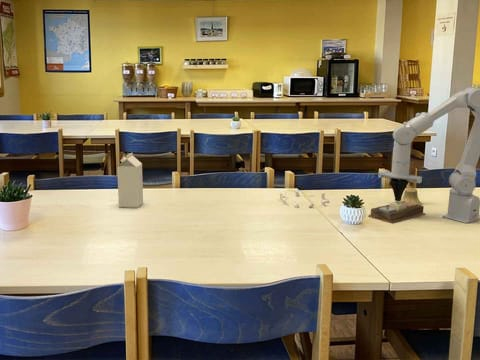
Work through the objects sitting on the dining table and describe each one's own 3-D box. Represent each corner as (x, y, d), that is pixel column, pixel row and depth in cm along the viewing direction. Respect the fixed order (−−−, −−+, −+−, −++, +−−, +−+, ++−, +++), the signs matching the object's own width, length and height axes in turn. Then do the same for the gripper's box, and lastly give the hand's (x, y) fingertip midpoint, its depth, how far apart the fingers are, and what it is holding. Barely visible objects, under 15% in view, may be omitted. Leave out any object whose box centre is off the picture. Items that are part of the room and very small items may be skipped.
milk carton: (143, 203, 204) (141, 152, 200) (137, 208, 197) (136, 156, 193) (124, 202, 204) (122, 152, 200) (118, 207, 197) (116, 155, 193)
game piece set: (278, 195, 219) (278, 186, 218) (329, 197, 217) (329, 187, 216) (276, 208, 200) (276, 198, 199) (332, 210, 198) (332, 199, 197)
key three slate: (395, 216, 186) (396, 208, 185) (387, 218, 184) (388, 210, 183) (386, 213, 189) (386, 206, 189) (378, 215, 187) (378, 208, 186)
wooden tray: (425, 214, 191) (425, 206, 191) (392, 223, 181) (392, 214, 180) (401, 208, 199) (402, 200, 198) (368, 216, 188) (369, 208, 188)
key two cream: (405, 210, 189) (406, 203, 188) (398, 212, 187) (399, 205, 186) (396, 208, 192) (396, 200, 192) (389, 209, 190) (389, 202, 189)
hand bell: (416, 207, 201) (420, 164, 198) (395, 203, 206) (398, 162, 202) (424, 203, 207) (428, 161, 204) (403, 199, 212) (406, 159, 209)
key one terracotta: (415, 211, 192) (416, 204, 192) (408, 213, 190) (408, 205, 190) (406, 208, 196) (406, 201, 195) (398, 210, 193) (399, 203, 193)
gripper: (426, 162, 185) (422, 201, 188) (385, 157, 193) (382, 195, 196) (419, 165, 179) (415, 205, 182) (377, 160, 188) (374, 198, 190)
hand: (398, 200), depth 189 cm, fingers closed
